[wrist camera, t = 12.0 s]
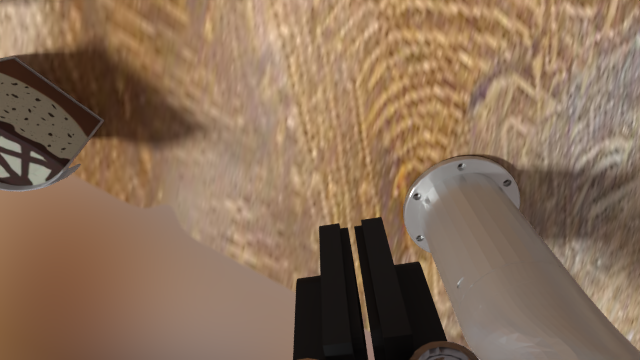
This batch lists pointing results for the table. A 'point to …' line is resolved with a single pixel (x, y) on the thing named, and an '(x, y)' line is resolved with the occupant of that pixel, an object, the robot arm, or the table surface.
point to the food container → (38, 128)
